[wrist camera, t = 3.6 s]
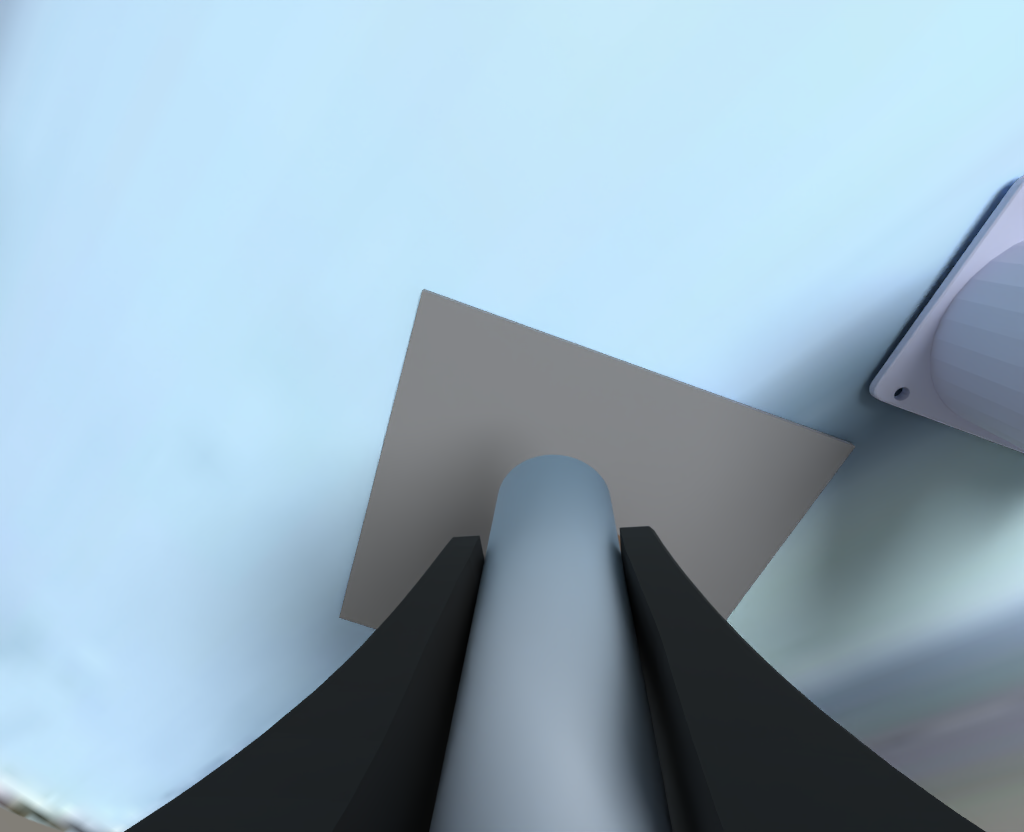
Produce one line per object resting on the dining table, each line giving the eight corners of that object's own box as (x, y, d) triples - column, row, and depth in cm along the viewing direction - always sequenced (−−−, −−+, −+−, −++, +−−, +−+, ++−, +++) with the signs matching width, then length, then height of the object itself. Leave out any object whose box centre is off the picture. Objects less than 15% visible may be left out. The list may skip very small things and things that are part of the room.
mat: (851, 442, 19) (855, 446, 19) (652, 711, 26) (653, 716, 26) (424, 289, 18) (422, 290, 18) (341, 613, 25) (339, 617, 25)
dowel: (629, 478, 12) (743, 893, 5) (583, 563, 13) (617, 999, 6) (519, 438, 12) (460, 808, 5) (483, 529, 13) (390, 934, 6)
